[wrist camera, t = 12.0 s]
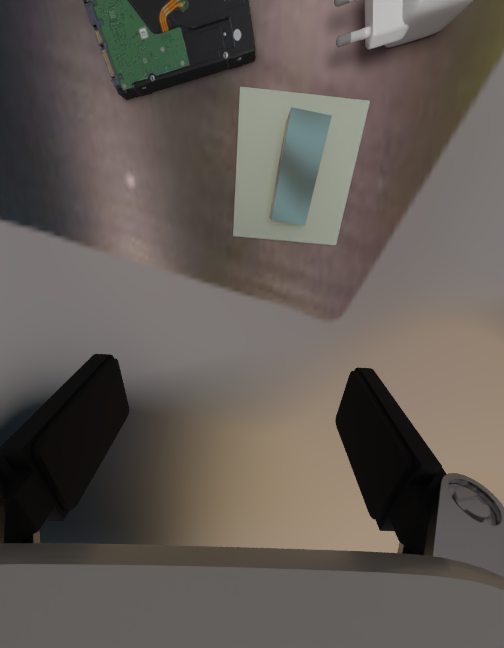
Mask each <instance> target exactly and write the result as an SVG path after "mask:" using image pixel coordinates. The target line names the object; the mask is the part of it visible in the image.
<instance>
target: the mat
mask: <svg viewBox="0 0 504 648" xmlns="http://www.w3.org/2000/svg"><path fill="white" fill-rule="evenodd" d="M369 103H370V101H366V100H357V99H348V98H339V97H330V96H321V95H312V94H303V93H294V92H285V91H276V90H267V89H257V88H248V87H240V99H239V121H238V142H237V164H236V185H235V207H234V228H233V236H239V237H250V238H261V239H272V240H283V241H294V242H305V243H316V244H327V245H336V243H337V239H338V234H339V230H340V226H341V222H342V217H343V213H344V209H345V205H346V200H347V196H348V192H349V188H350V183H351V179H352V175H353V171H354V167H355V162H356V158H357V154H358V150H359V145H360V141H361V137H362V133H363V128H364V124H365V120H366V116H367V111H368V107H369ZM291 107H293V108H298V109H303V110H307V111H312V112H317V113H322V114H327V115H332V117H331V121H330V125H329V129H328V133H327V138H326V142H325V146H324V150H323V154H322V158H321V162H320V166H319V171H318V175H317V179H316V183H315V187H314V191H313V195H312V199H311V204H310V208H309V212H308V216H307V220H306V224H305V225H299V224H294V223H288V222H282V221H277V220H271V219H270V218H269V216H270V210H271V204H272V199H273V193H274V188H275V182H276V176H277V171H278V165H279V159H280V154H281V148H282V142H283V137H284V131H285V125H286V120H287V117H288V115H289V112H290V110H291Z"/></svg>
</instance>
